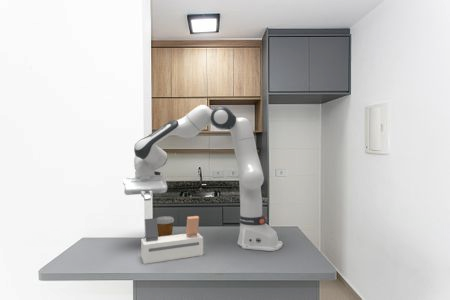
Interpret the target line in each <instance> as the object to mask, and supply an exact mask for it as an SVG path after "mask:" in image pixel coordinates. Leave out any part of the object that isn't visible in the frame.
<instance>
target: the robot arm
mask: <svg viewBox="0 0 450 300" xmlns="http://www.w3.org/2000/svg"><path fill="white" fill-rule="evenodd" d="M211 125H212V126H213V127H215V128H216V129H218V130H219V131H226V130H228V131H229V133H230V136H231V140H232V144H233V149H234V154H235V158H236V162H237V163H236V164H237V168H238V171H239V173H238V179H239V180H238V181H239V202H240V204H239V205H240V207H239V209H240V211H239V212H240V213H239V219H238V221H239V222H238V223H239V234H238V238H237V239H238V240H237V243H236V244H237V245H238V246H240V247H241V248H242V249H244V250H255V251H267V252H268V251H269V252H276V251H278V250H280V249H281V248H283V245H284V244H283V241H281V240H279V237H278V232H277V231H276V230H274V228H273V227H271V226H270V225H269V224H267V219H268V218H267V216H264V215H263V197H262V190H261V189H262V188H261V187H262V185H263V184H264V182H265V181H264V180H265V177H264V171H263V168H262V164H261V160H260V158H259V157H260V156H259V153H258V150H257V145H256V139H255V135H254V131H253V128H252V125H251V123H250V120H249V119H248V118H246V117H241V116H240V117H237V116H236V115H235V114H234V113H233V112H232V111H231V109H229V108H228V107H226V106H218V107H215V108H214V109H213V110H212V109H211V108H210V107H209V106H208V105H205V104H199V105H198V106H196V107H195V108H193V109H191V111H189V112H188V113H187V114H186V115H184V116H183V117H181V118H179V119H175V120H174V119H173V120H169V121H168V122H167V123H165V124H164V125H162V126H161V127H159V128H158V129H156V130H154V131H153V132H151V133H150V134H148V136H145V137H143V138H141V139H139V140H138V141H137V142H136V143H135V144H134V150H133V151H134V155H135V156H134V158H133V159H134V160H133V165H134V166H133V167H134V170H135V172H134V173H135V177H126V178H124V179H123V180H122V182H123V183H122V184H123V186H124V190H123V191H124V195H126V196H130V195H132V196H133V195H140V196H141V197H142V198H143V201H146V202H147V201H151V200H152V199H151V198H152V195H153V194H164V193H166V192H167V191H168V185H167V184H168V183H167V181H166V179H165V177H164V174H163V172H161V171H157V170H159V169H160V168H162V167H163V166H165V165H166V163H167V162H168V153H167V152H166V151H165V150H163V148H161V147H159V146H158V145H157V144H159V143H161V142H162V141H163V140H165V139H166V138H168V137H171V136H176V137H180V138H185V139H192V138H195V137H196V136H198V135H199V133H201V132H202V131H203V130H204V129H205V128H206V127H208V126H211ZM147 194H148V195H147Z"/></svg>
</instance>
